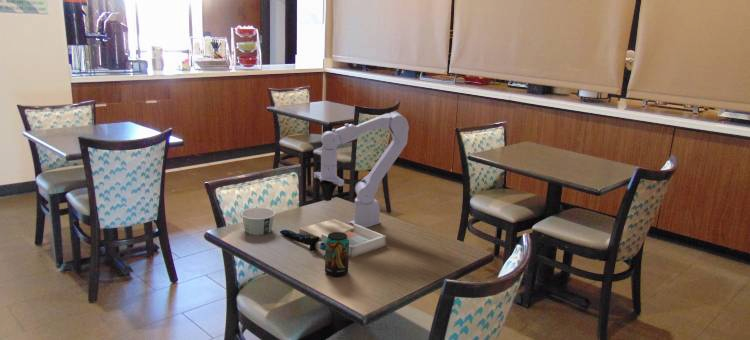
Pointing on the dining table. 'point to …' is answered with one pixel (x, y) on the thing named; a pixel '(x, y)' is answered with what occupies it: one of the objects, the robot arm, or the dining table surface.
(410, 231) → the dining table surface
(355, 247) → the box
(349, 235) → the terracotta tile
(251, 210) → the food container
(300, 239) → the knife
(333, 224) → the birch plate
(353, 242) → the blue tile
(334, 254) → the beverage can
